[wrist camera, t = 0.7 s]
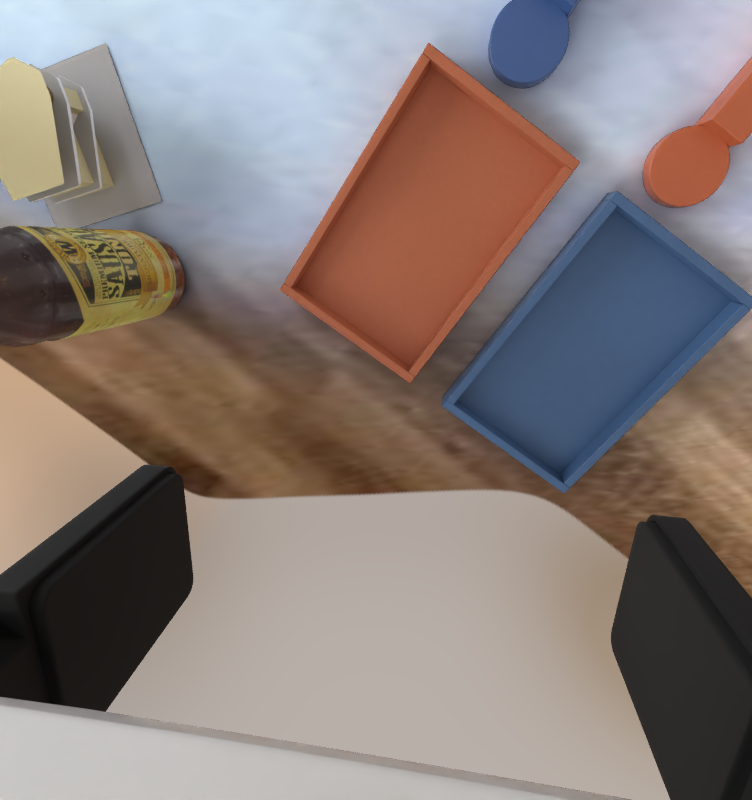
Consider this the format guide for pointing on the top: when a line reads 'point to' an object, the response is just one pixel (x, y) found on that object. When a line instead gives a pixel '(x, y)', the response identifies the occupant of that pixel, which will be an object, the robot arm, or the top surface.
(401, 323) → the terracotta tray
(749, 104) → the terracotta spoon
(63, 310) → the sauce bottle
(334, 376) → the top surface
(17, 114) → the stacked layers on plate
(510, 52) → the blue spoon
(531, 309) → the blue tray
